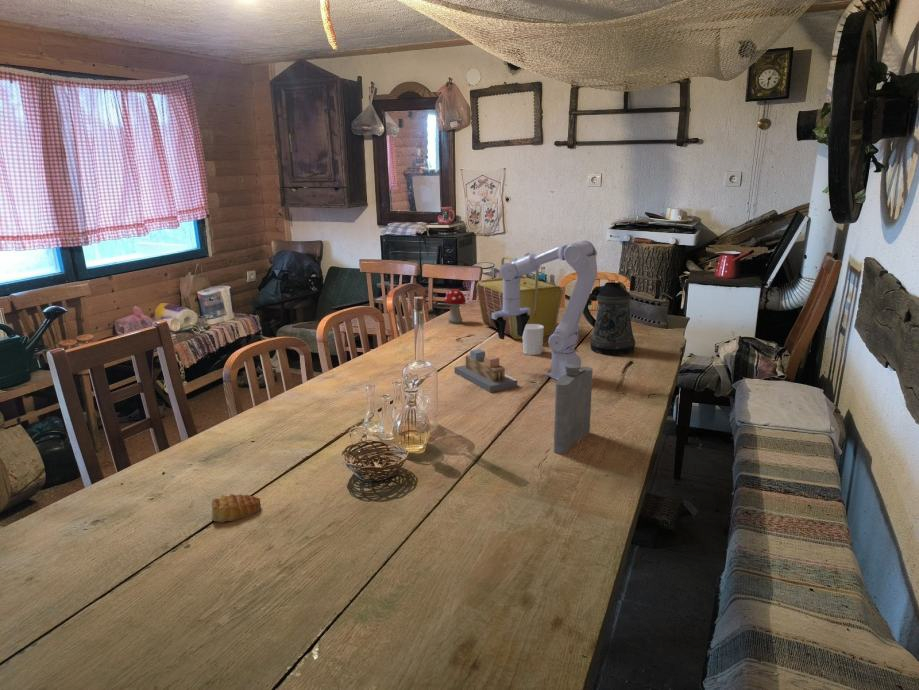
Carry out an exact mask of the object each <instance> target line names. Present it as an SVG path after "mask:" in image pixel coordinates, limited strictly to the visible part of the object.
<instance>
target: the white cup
mask: <svg viewBox="0 0 919 690" xmlns="http://www.w3.org/2000/svg"><path fill="white" fill-rule="evenodd" d="M543 333H544V326H542V325H539V324H526V326H525V329H524V332H523V336H522V338H523V339H522V352H523V353H524V355H528V356H538V355H540V354H542V352H543V345H544V344H543V342H544V336H543Z"/></svg>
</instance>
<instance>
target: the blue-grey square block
mask: <svg viewBox="0 0 919 690" xmlns="http://www.w3.org/2000/svg"><path fill="white" fill-rule="evenodd" d="M469 352H470V354H469V356H470V358H472V359H474V360H476V361H477V360H482V359H484V357H486V351H484V350H483V349H480V348H477V349H472V350H470V351H469Z"/></svg>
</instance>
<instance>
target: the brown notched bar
mask: <svg viewBox="0 0 919 690" xmlns="http://www.w3.org/2000/svg"><path fill="white" fill-rule="evenodd" d="M465 365H466V368H467V369H469V370H471V371H473V372H475V373H477V374H479V375H481V376H483V377H485V378H487V379H489V380H491V381H493V382H497V381H501V380H505V374H506V372H505V371H506V368H505V367H504V366H502V365H500V364H499V366H495V367H488V366H486V365H484V359H482V360H477V361H476V360H474V359H472V358H470V355H466V356H465Z"/></svg>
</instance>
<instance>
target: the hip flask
mask: <svg viewBox="0 0 919 690" xmlns="http://www.w3.org/2000/svg"><path fill="white" fill-rule="evenodd" d="M565 369H566V374H565V375H564V376H562V377H561V378H560V379H559V380H556V382H555V396H554V398H555V399H554V400H555V401H554V402H555V403H554V427H553V428H554V431H553V436H554V437H553V453H554V454H557V455H565V454H567V453H568V452H569V450H570V449H571V448H572V447H573V445H575V444H576V443H578V442H579V441H580V440H582V439H584V438H585V437H587V436H590V429H591V409H592V391H593V390H592V389H593V372H594V371H593V367H590V366H581V367H580V365H578V364H573V363H571V364H566V365H565Z"/></svg>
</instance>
